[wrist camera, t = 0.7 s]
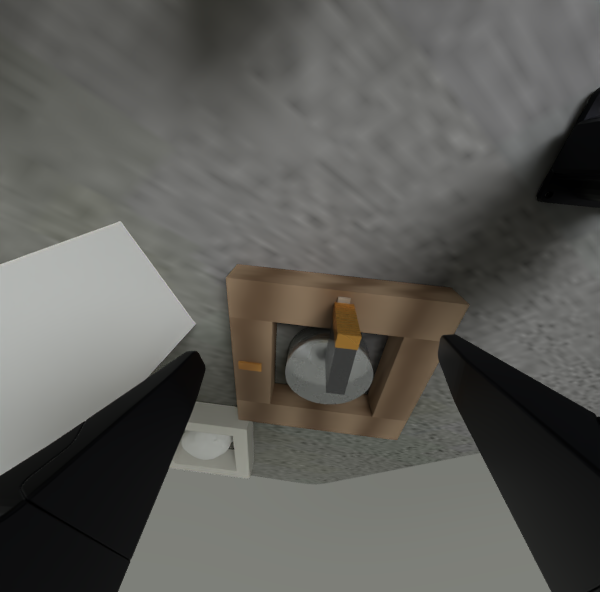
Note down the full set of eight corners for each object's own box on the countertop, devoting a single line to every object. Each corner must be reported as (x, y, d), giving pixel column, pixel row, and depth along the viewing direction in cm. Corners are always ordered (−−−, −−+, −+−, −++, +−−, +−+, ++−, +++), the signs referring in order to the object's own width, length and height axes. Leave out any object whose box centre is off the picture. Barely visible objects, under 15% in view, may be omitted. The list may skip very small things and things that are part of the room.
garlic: (215, 408, 34) (204, 434, 31) (245, 432, 36) (238, 458, 33) (181, 423, 37) (167, 449, 33) (211, 444, 39) (201, 470, 36)
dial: (358, 386, 28) (369, 450, 22) (286, 377, 29) (276, 438, 22) (389, 290, 22) (417, 343, 15) (294, 280, 22) (282, 327, 15)
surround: (451, 287, 21) (470, 306, 18) (390, 417, 31) (397, 441, 28) (237, 264, 22) (224, 278, 19) (245, 398, 32) (237, 421, 29)
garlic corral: (252, 408, 33) (246, 429, 30) (254, 458, 40) (249, 478, 37) (156, 396, 33) (142, 416, 30) (175, 447, 40) (165, 467, 38)
